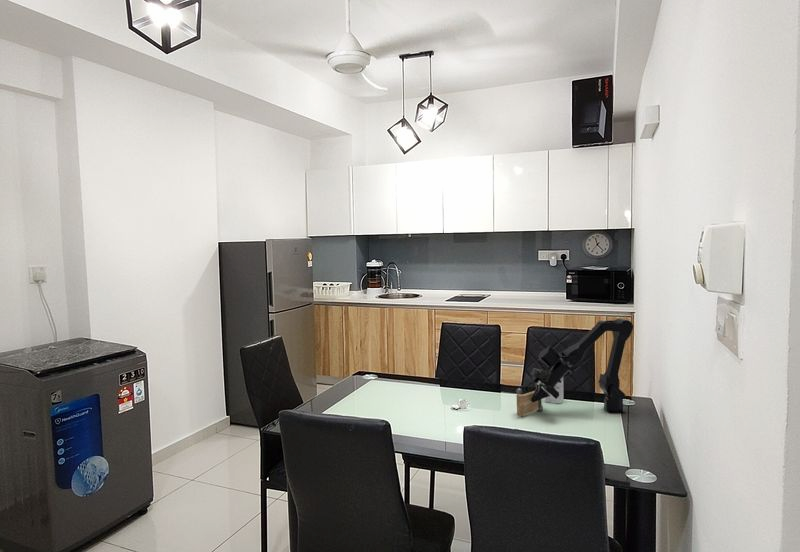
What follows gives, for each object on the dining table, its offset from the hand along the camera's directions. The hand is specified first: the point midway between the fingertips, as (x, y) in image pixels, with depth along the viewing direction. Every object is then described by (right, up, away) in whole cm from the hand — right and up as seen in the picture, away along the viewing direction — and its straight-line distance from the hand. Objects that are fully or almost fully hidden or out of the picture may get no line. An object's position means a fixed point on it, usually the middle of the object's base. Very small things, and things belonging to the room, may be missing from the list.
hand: (531, 401), depth 210 cm
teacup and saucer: (-29, -7, +16) cm, 34 cm away
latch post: (-4, -6, +2) cm, 8 cm away
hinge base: (+5, -5, +6) cm, 10 cm away
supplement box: (+15, -5, +19) cm, 24 cm away
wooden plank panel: (0, -5, +2) cm, 5 cm away
